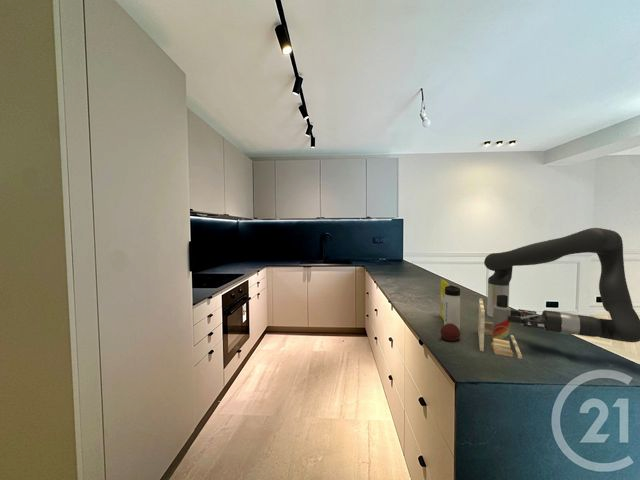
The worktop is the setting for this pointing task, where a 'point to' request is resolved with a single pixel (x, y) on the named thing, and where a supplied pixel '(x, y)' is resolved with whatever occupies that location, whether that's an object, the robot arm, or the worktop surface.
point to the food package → (442, 297)
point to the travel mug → (452, 305)
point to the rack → (489, 330)
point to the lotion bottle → (501, 318)
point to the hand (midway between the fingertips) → (506, 315)
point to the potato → (450, 332)
